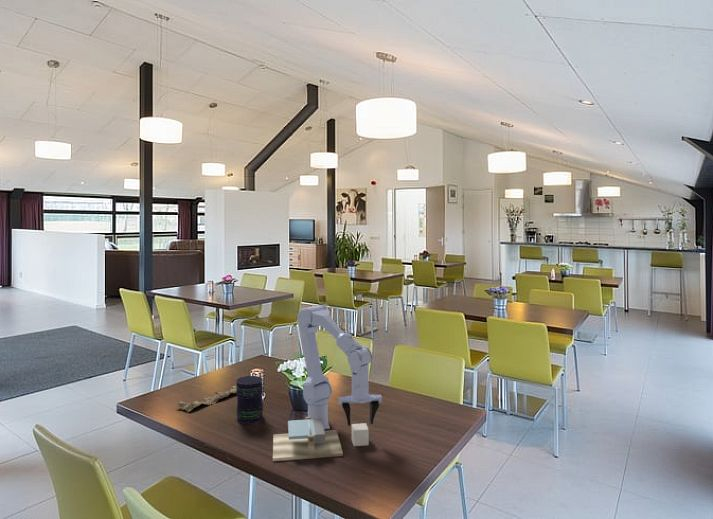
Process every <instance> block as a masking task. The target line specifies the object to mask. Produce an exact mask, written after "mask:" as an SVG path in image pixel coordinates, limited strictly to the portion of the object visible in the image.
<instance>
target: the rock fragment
mask: <svg viewBox="0 0 713 519" xmlns="http://www.w3.org/2000/svg"><path fill="white" fill-rule="evenodd" d="M232 387H233V388H234V389H231V388H232ZM236 387H237V384H236V385H233V386H230V389H231V390H230V391H229V392H228V391H225V392H223V391H221V390H219V391H215V392H214V393H215V394H219V395H215V396H214V397H210V396H207V397H208V398H205V397H203V398H204V399H206V401H207V402H204V401H201V402H198V401H199V400H194V401H195V402H194V401H192V402H184V401H182V400H177V401H176V402H175V403H176V405H177V406H178V407H179V408H180V409H181V410H185V411H186V412H191V411H192V410H193V409H194V408H197V407H199V406H200V405H202V404H203V405H207V406H209V404H211V403H215V402H217V403H218V401H219V400H221V399H224V398H227V397H229V395H231V394H235V393H237V391H236ZM193 402H194V403H193Z"/></svg>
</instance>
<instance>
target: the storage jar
mask: <svg viewBox="0 0 713 519" xmlns="http://www.w3.org/2000/svg"><path fill="white" fill-rule="evenodd" d="M236 385H237V387H236V391H237V392H236V400H237V404H236V416H237V417H236V421H237V422H238V421H239V422H238V423H240V422H241V424H245V423H247V424H249V425H250V424H255V423H258V422H260V421H262V420H263V418H264V415H263V412H264V406H263V405H264V404H263V392H264V390H263V387H264V385H263V378H262V377H261V376H259V375H257V376H256V375H246V376H242V377H241V376H240V377H239V378H237V380H236ZM247 424H246V425H247Z"/></svg>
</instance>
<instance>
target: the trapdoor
mask: <svg viewBox="0 0 713 519" xmlns="http://www.w3.org/2000/svg"><path fill="white" fill-rule="evenodd" d="M287 430H288V432H287V434H289V440H292V439H306V438H308V435H314V438H315V443H316V444H320V443H325V432H324V431H325V429H324V428H323V423H322V419H307V420H305V419H296V420H288V421H287Z"/></svg>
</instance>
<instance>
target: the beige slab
mask: <svg viewBox="0 0 713 519" xmlns="http://www.w3.org/2000/svg"><path fill="white" fill-rule="evenodd" d="M307 419H311V416H310V417H308V416H305V417H304V420H307ZM324 432H325V443H320V444H316V443H315V438H314V435H308V438H306V439H292V440H289V434H288V433H278V434H277V433H275V434H274V433H273V434H272V435H273V436H272V437H273V438H272V442H273V443H272V462H281V461H283V462H284V461H295V460H305V459H307V460H309V459H318V458H319V459H320V458H331V457H332V458H333V457H343V456H344V452H343V449H342V444H341V441H340V437H339V435H338V431H337V429H334V430H333V429H332V430H324Z"/></svg>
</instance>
